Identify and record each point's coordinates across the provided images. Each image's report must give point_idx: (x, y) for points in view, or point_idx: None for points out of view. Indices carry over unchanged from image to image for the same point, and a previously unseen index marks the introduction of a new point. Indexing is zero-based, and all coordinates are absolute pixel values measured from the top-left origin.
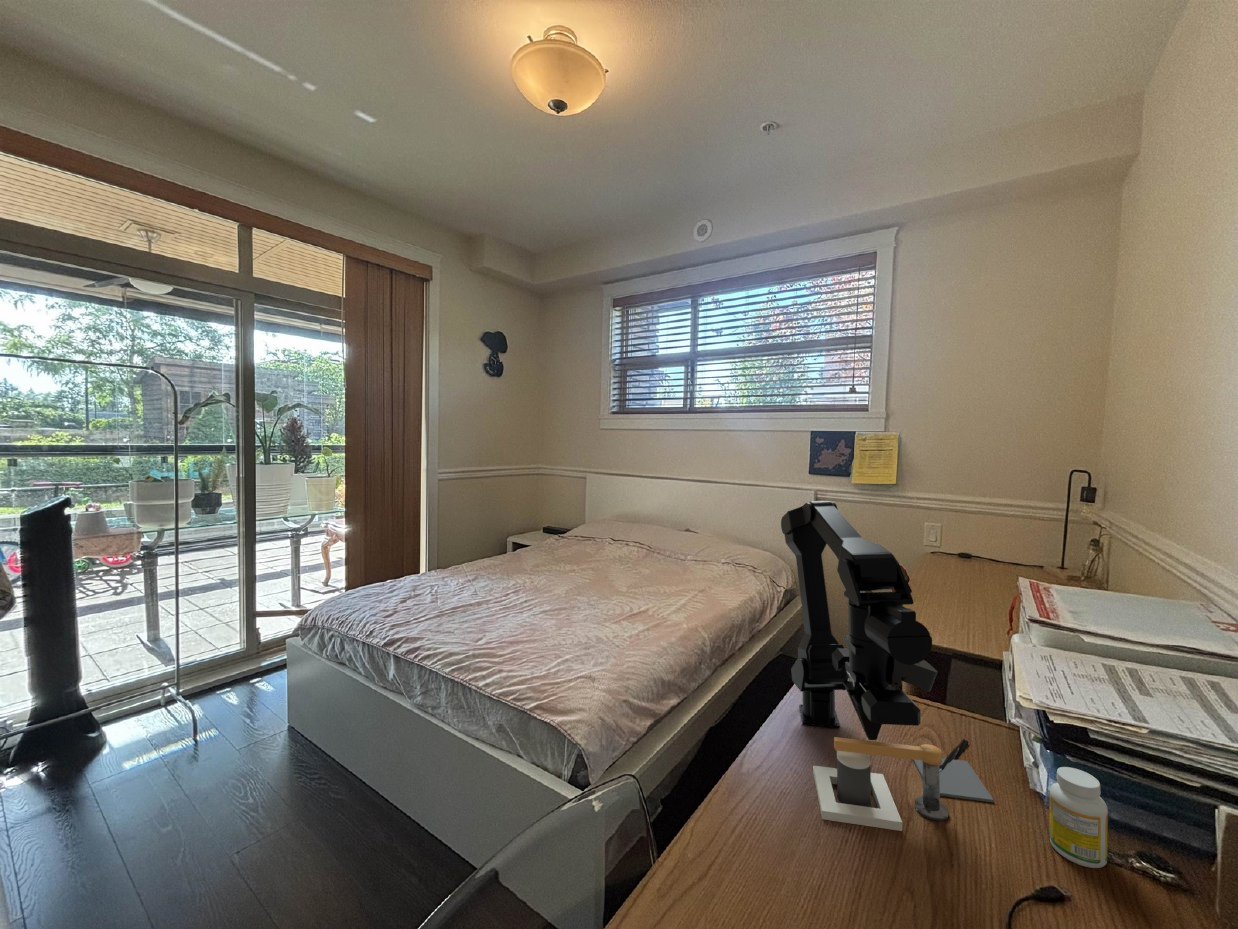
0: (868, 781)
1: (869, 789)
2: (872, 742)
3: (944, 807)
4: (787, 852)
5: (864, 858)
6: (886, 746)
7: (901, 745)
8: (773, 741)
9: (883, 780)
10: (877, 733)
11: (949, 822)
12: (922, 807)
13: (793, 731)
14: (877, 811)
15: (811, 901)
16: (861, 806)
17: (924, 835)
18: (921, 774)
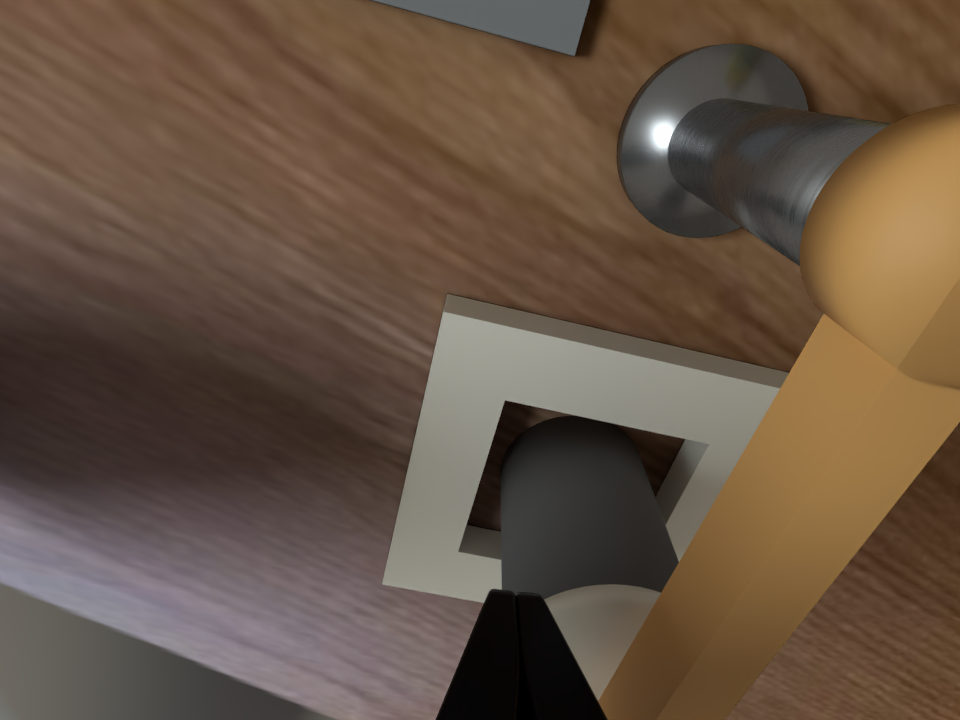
0: (666, 539)
1: (648, 496)
2: (681, 718)
3: (744, 64)
4: (767, 712)
5: (866, 554)
6: (768, 656)
7: (801, 544)
8: (170, 620)
9: (501, 335)
10: (577, 669)
11: (814, 90)
12: (713, 212)
13: (53, 534)
14: (723, 466)
15: (940, 708)
16: (678, 512)
17: None
18: (387, 4)
